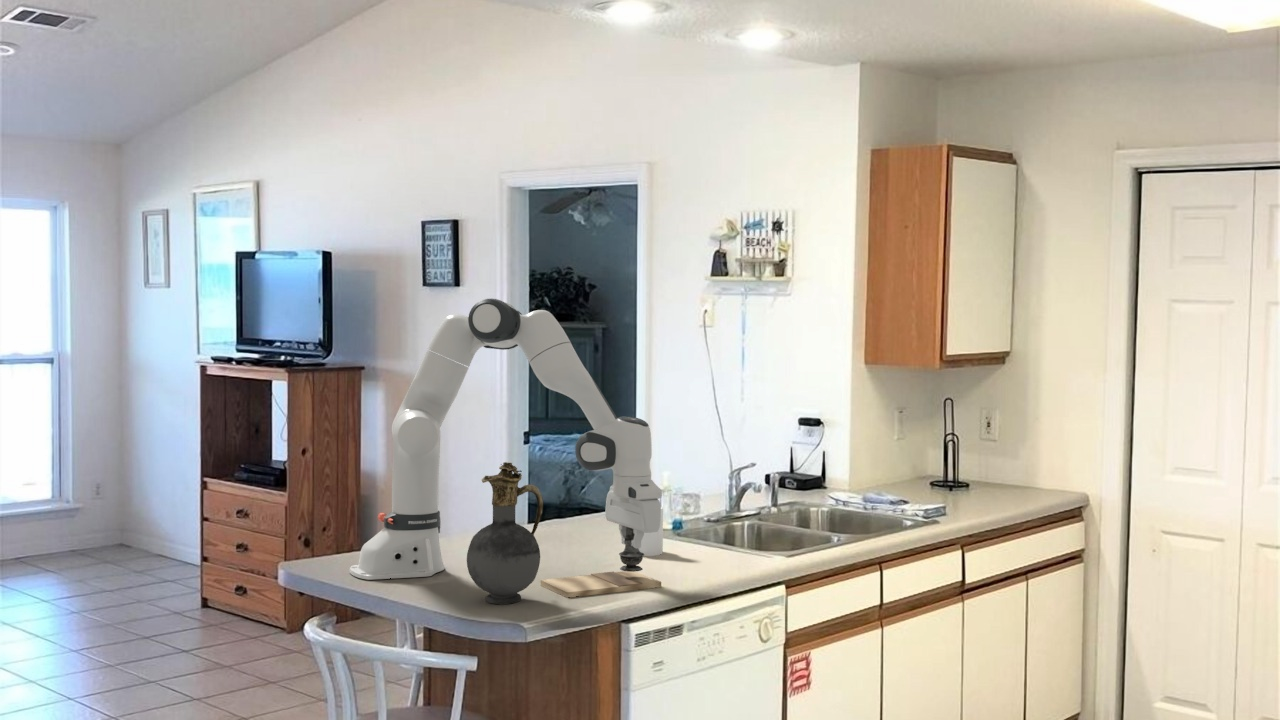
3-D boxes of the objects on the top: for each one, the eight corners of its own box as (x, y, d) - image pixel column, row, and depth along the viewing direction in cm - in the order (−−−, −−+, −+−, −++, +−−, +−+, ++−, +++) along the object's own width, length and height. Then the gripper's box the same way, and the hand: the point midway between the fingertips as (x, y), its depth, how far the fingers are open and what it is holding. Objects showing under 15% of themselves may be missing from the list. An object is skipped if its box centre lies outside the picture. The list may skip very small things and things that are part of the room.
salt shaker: (646, 567, 291) (647, 516, 291) (640, 572, 285) (640, 520, 285) (622, 565, 293) (623, 515, 292) (615, 570, 287) (616, 519, 287)
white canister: (668, 551, 328) (668, 506, 327) (654, 557, 320) (654, 511, 319) (637, 548, 332) (637, 503, 331) (622, 554, 323) (623, 508, 323)
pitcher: (459, 602, 268) (460, 464, 267) (524, 588, 282) (525, 457, 281) (492, 610, 261) (493, 468, 259) (558, 596, 275) (559, 461, 274)
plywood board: (567, 597, 273) (567, 591, 273) (540, 585, 285) (540, 579, 285) (661, 587, 285) (661, 580, 285) (631, 575, 297) (631, 569, 297)
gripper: (599, 482, 296) (598, 539, 296) (641, 493, 278) (640, 554, 279) (622, 480, 299) (621, 537, 299) (665, 491, 281) (664, 552, 282)
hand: (631, 546), depth 289 cm, fingers closed on salt shaker, 3 cm apart
